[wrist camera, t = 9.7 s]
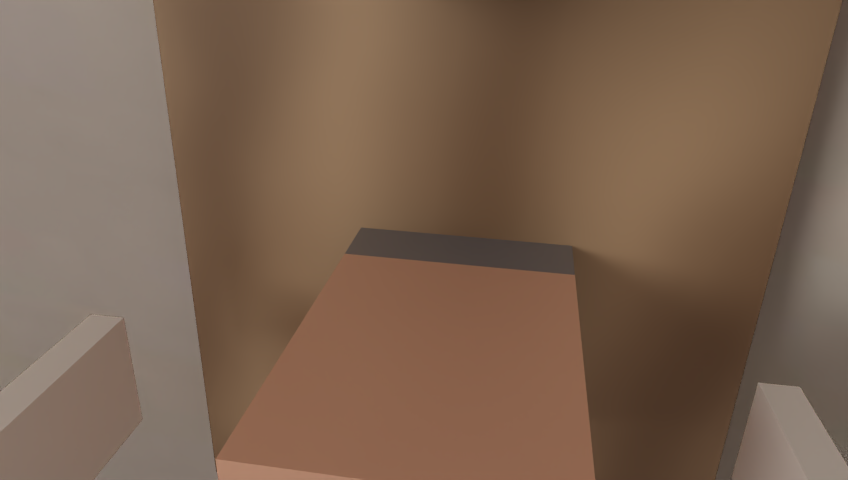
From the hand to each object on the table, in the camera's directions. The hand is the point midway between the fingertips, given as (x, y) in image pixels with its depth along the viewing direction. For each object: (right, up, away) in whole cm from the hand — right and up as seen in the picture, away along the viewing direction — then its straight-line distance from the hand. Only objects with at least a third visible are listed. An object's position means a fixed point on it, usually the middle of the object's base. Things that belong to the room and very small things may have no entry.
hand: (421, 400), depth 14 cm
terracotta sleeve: (+1, +1, +3) cm, 3 cm away
